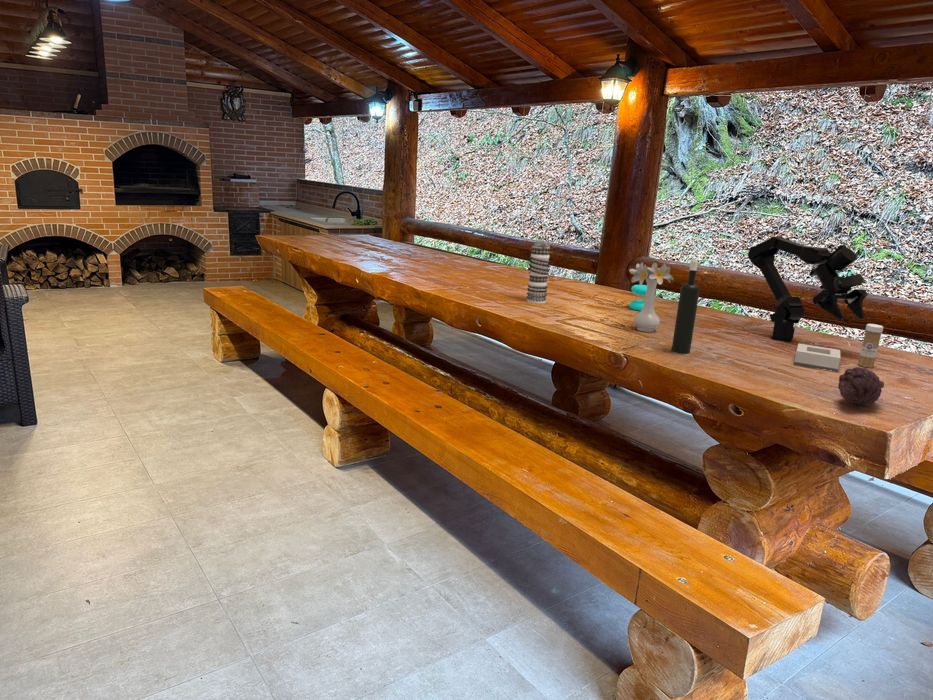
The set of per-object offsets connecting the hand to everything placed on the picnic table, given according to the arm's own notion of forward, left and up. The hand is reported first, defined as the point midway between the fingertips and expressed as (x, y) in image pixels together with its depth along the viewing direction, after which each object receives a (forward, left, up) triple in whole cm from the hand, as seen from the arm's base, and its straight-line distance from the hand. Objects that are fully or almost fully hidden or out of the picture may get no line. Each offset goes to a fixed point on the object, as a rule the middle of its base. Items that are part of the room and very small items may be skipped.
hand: (852, 318), depth 208 cm
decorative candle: (-117, +16, -14) cm, 119 cm away
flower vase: (-65, -5, -14) cm, 67 cm away
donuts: (-76, +34, -14) cm, 84 cm away
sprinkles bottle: (+6, -5, -14) cm, 16 cm away
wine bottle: (-47, -28, -14) cm, 56 cm away
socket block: (-8, -14, -14) cm, 21 cm away
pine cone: (+2, -53, -14) cm, 55 cm away
